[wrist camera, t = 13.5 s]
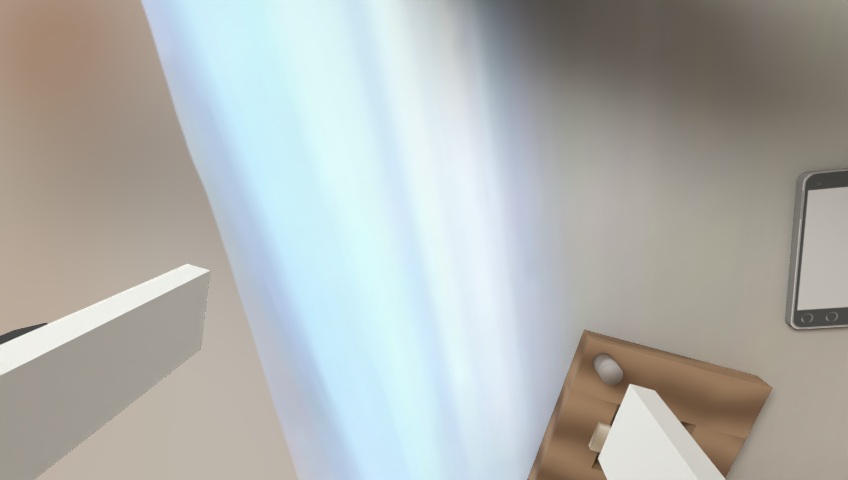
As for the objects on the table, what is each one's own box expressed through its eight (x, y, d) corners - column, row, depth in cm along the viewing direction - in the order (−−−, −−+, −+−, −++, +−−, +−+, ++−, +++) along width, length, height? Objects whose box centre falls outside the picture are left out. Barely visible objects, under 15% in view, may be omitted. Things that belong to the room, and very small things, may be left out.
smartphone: (790, 329, 39) (803, 173, 36) (781, 325, 40) (794, 172, 37) (875, 324, 38) (897, 164, 35) (864, 320, 40) (884, 163, 36)
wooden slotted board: (584, 329, 42) (598, 350, 37) (757, 376, 41) (791, 402, 37) (525, 485, 47) (532, 519, 42) (680, 528, 46) (702, 567, 42)
